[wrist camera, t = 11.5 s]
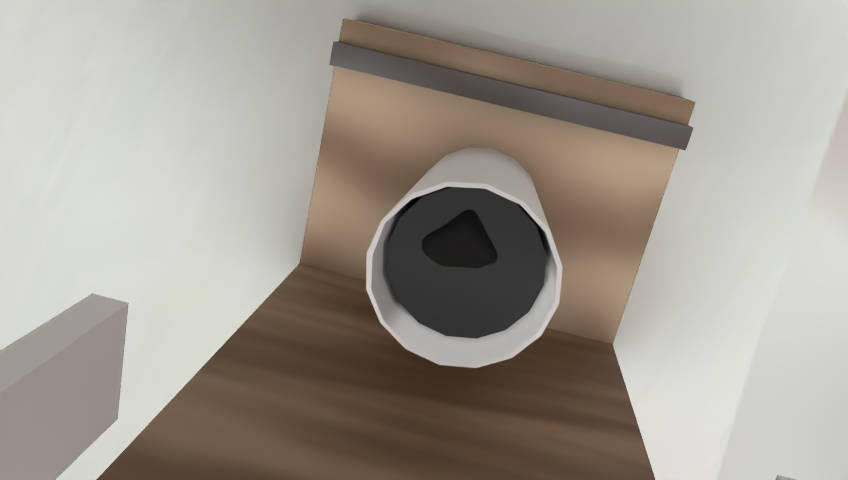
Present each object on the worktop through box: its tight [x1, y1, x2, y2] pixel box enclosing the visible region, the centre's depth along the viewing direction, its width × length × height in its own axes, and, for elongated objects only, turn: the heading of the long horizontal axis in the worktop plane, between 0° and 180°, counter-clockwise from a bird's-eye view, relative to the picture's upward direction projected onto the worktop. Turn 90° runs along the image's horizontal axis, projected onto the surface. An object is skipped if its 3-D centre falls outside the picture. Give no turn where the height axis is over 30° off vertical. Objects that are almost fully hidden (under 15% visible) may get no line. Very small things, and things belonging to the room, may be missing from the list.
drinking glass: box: [366, 147, 563, 368], centre depth 28 cm, size 7×7×10 cm
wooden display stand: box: [97, 19, 695, 480], centre depth 23 cm, size 14×16×24 cm
